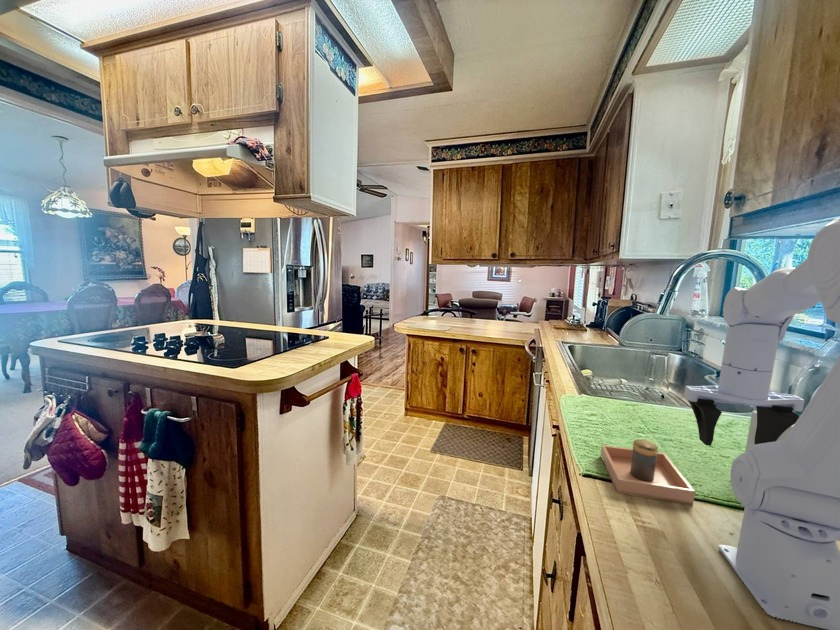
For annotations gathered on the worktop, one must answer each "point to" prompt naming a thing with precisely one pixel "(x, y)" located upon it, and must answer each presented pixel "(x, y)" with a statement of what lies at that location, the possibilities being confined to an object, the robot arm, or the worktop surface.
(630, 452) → the dish
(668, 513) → the worktop surface
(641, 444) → the cell
